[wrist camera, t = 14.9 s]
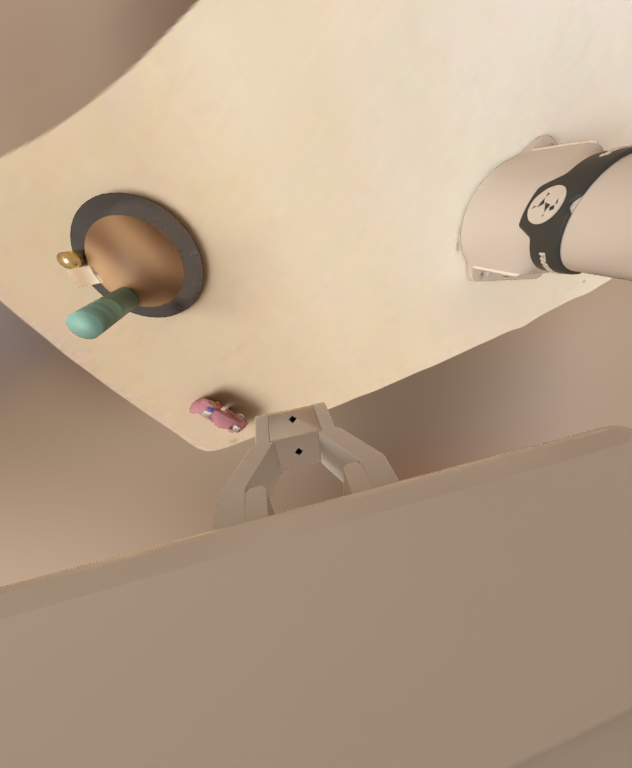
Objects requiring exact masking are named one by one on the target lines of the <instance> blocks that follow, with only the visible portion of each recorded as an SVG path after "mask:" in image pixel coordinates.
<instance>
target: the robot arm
mask: <svg viewBox="0 0 632 768" xmlns="http://www.w3.org/2000/svg"><path fill="white" fill-rule="evenodd" d="M461 246H462V251H463V254H464V256H465V258H466V260H467V264H468V269H467V274H468V279H469V280H470V281H496V280H519V279H536V278H538V277H539V276H541V275H542V274H543V273H549V272H551V273H556V274H580V273H588V274H594V275H600V276H606V277H612V278H618V279H624V280H630V281H632V146H625V147H619V148H615V149H612V150H609V151H604V150H603V148H602V147H601V146H600V145H598V141H597V140H587V141H581V142H574V143H567V144H561V145H558V144H557V143H556V142H555V141H554V140H553V139H552V137H551V136H549V135H545V136H539V137H538V138H536V139H535V140H534V141H533V142H532V143H531V144H530V145H529V146H528V147H527V148H526V149H525V150H524V151H523V152H522V153H520V154H519V155H517V156H515V157H513V158H511V159H509V160H507V161H505V162H504V163H502V164H501V165H499V166H498V167H497V168H496V169H494V170H493V171H492V172H491V173H490V174H489V175H488V176H487V177H486V179H485V180H484V181H483V182H482V184H481V185H480V186H479V188H478V189H477V191H476V192H475V194H474V196H473V197H472V199H471V201H470V203H469V206H468V208H467V211H466V213H465V217H464V220H463V224H462V230H461ZM481 273H482V274H481ZM255 444H256V445H255V446H252V447H251V448H250V450H249V451H248V452H247V454H246V455H245V457H244V458H243V459H242V461H241V462H240V464H239V465H238V466H237V468H236V469H235V471H234V472H233V473H232V475H231V476H230V478H229V479H228V481H227V482H226V483H225V485H224V486H223V488H222V489H221V490H220V492H219V493H218V495H217V500H216V508H215V517H214V524H213V531H210V532H206V533H203V534H198V535H195V536H191V537H187V538H183V539H180V540H176V541H172V542H168V543H165V544H161V545H157V546H153V547H149V548H146V549H142V550H138V551H135V552H131V553H127V554H123V555H119V556H116V557H112V558H108V559H104V560H100V561H97V562H93V563H89V564H85V565H81V566H78V567H74V568H71V569H67V570H62V571H59V572H55V573H51V574H48V575H44V576H40V577H36V578H32V579H29V580H25V581H21V582H17V583H13V584H10V585H6V586H2V587H0V768H632V429H631V428H627V427H622V426H608V427H603V428H598V429H595V430H591V431H588V432H583V433H580V434H576V435H573V436H568V437H565V438H561V439H557V440H553V441H550V442H546V443H542V444H538V445H535V446H531V447H527V448H523V449H520V450H516V451H512V452H509V453H504V454H501V455H497V456H493V457H489V458H485V459H482V460H478V461H474V462H470V463H467V464H463V465H459V466H455V467H452V468H448V469H444V470H440V471H436V472H433V473H429V474H425V475H421V476H417V477H414V478H410V479H406V480H403V481H399V480H398V478H397V477H396V475H395V473H394V471H393V470H392V468H391V466H390V464H389V463H388V461H387V459H386V457H385V456H384V454H382V453H381V452H379V451H377V450H375V449H374V448H372V447H371V446H369V445H367V444H366V443H364V442H362V441H361V440H359V439H357V438H356V437H354V436H352V435H351V434H349V433H347V432H346V431H344V430H342V429H341V428H339V427H336V428H335V426H334V424H333V422H332V419H331V417H330V414H329V412H328V409H327V407H326V405H325V403H324V402H323V403H318V404H314V405H310V406H306V407H301V408H296V409H291V410H286V411H281V412H275V413H270V414H265V415H260V416H256V417H255ZM317 462H321V463H322V464H323V465H324V466H326V467H327V468H328V469H329V470H330V471H331V472H332V473H333V474H334V475H335V476H336V477H338V478H339V479H340V480H341V481H342V482H343V483H344V496H342V497H339V498H335V499H331V500H328V501H323V502H320V503H316V504H312V505H308V506H305V507H301V508H297V509H293V510H289V511H285V512H282V513H278V514H274V511H273V508H272V505H271V502H270V498H271V496H272V494H273V491H274V489H275V487H276V484H277V482H278V480H279V478H280V475H281V473H282V471H284V470H288V469H291V468H295V467H299V466H303V465H308V464H312V463H317Z"/></svg>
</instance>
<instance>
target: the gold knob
mask: <svg viewBox="0 0 632 768" xmlns="http://www.w3.org/2000/svg"><path fill="white" fill-rule="evenodd" d="M57 260H58V262H59V263H60V264H61V265H62V266H63V267H65V268H69V269H72V268H75V267H79V266H82V265H86V264H88V262H87V259H86V255H85V252H84V251H82V250H72V251H66V252H61V253H58V254H57Z"/></svg>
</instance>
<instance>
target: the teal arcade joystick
mask: <svg viewBox="0 0 632 768" xmlns="http://www.w3.org/2000/svg"><path fill="white" fill-rule="evenodd" d="M84 247H85V255H86V259H87V262H88V264H89V265H86V266H81V267H76V268H72V269H68V270H66V272H67V273H68V274H69V276H70V277H71V279H72V280H73V281H74V283H75V284H76V285H77V287H78V288H80V287H84V286H89V285H94V284H98V283H101V284H102V285H103V286H104V287H105V288H106V289H107V290H108V291H110V292H111V293H109V294H107V295H105V296H103V297H101V298H100V299H98V300H96V301H94V302H92V303H90V304H88V305H87V306H85V307H83V308H81V309H79V310H77V311H75V312H74V313H72V314H70V315H69V316H68V317H67V319H66V324H67V327H68V328H69V330H70V331H71V332H72V333H74V334H75V335H77V336H79V337H81V338H85V339H94V338H97V337H98V336H99V335H101V334H102V333H103V332H105V331H106V330H107V329H108V328H110V327H111V326H112V325H113V324H115V323H116V322H117V321H119V320H120V319H121V318H122V317H124V316H125V315H126V314H127V313H129V312H130V311H131V310H133V309H134V308H135V307H136V306H137V305H138V306H144V307H156V306H161V305H164V304H166V303H168V302H170V301H171V300H173V299H174V298H175V297H176V296H177V295H178V293H179V292H180V290H181V288H182V286H183V283H184V266H183V262H182V259H181V257H180V254H179V252H178V251H177V249H176V247H175V246H174V244H173V243H172V242H171V241H170V239H169V238H168V237H167V236H166V235H165V234H164V233H163V232H162V231H160V230H159V229H158V228H156V227H155V226H153V225H152V224H150V223H148V222H146V221H144V220H142V219H139V218H136V217H133V216H127V215H111V216H106V217H103V218H101V219H99V220H97V221H96V222H95V223H94V224H93V225H92V226H91V227H90V228H89V230H88V232H87V234H86V237H85V244H84Z"/></svg>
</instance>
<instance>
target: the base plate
mask: <svg viewBox="0 0 632 768" xmlns="http://www.w3.org/2000/svg"><path fill="white" fill-rule="evenodd" d="M111 215H127V216H133V217H136V218H139V219H142V220H144V221H146V222H148V223H150V224H152V225H153V226H155V227H156V228H158V229H159V230H160V231H162V232H163V233H164V234H165V235H166V236H167V237H168V238H169V239H170V241H171V242H172V243H173V244H174V246H175V247H176V249H177V251H178V252H179V254H180V257H181V259H182V262H183V266H184V283H183V286H182V288H181V290H180V292H179V293H178V295H177V296H176V297H175V298H174V299H173V300H171V301H170V302H168V303H166V304H164V305H161V306H156V307H144V306H138V305H137V306H136V307H135V308H134V309H133V310H131V311H130V312H132V313H135V314H138V315H142V316H147V317H168V316H172V315H175V314H178V313H180V312H182V311H184V310H185V309H187V308H188V307H189V306H190V305H191V304H192V303H193V302H194V301H195V299H196V298H197V296H198V294H199V292H200V290H201V287H202V283H203V264H202V260H201V256H200V253H199V250H198V248H197V246H196V244H195V242H194V240H193V239H192V237H191V235H190V234H189V233H188V231H187V230H186V229H185V227H184V226H183V225H182V224H181V223H180V222H179V221H178V220H177V219H176V218H175V217H174V216H173V215H172V214H170V213H169V212H168V211H166V210H165V209H163V208H162V207H160V206H159V205H157V204H155V203H153V202H151V201H149V200H147V199H144V198H141V197H138V196H134V195H129V194H123V193H108V194H102V195H99V196H95V197H93V198H91V199H90V200H88V201H86V202H85V203H84V204H83V205H82V206H81V207H80V208H79V209H78V211H77V212H76V214H75V216H74V218H73V221H72V225H71V233H70V237H71V246H72V250H82V251H84V252H85V247H84V244H85V237H86V234H87V232H88V230H89V228H90V227H91V226H92V225H93V224H94V223H95V222H96V221H97V220H99V219H101V218H103V217H106V216H111ZM86 265H89V264H86ZM86 265H82V266H86ZM79 267H81V266H79ZM92 286H93V287H94V288H95V289H96V290H97V291H98V292H99V293H100V294H102V295H103V296H105V295H107V294H109V293H111V292H110V291H108V290H107V289H106V288H105V287H104V286H103V285H102V284H101V283H98V284H94V285H92Z"/></svg>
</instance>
